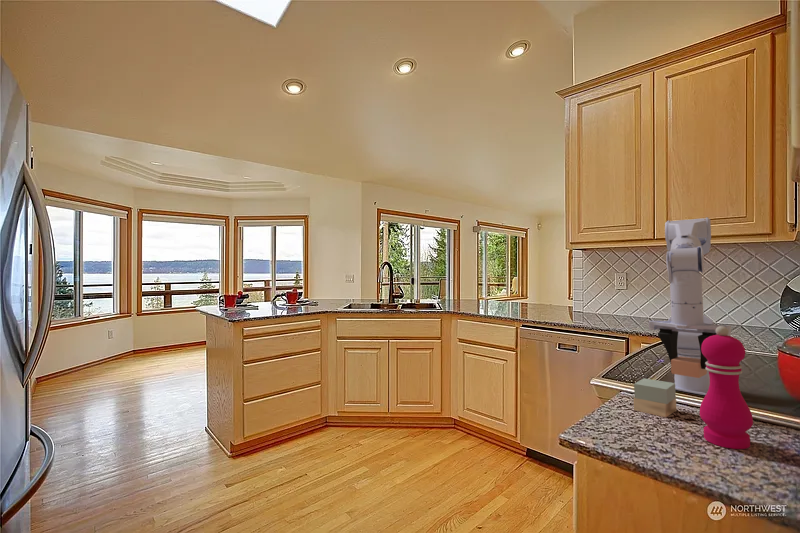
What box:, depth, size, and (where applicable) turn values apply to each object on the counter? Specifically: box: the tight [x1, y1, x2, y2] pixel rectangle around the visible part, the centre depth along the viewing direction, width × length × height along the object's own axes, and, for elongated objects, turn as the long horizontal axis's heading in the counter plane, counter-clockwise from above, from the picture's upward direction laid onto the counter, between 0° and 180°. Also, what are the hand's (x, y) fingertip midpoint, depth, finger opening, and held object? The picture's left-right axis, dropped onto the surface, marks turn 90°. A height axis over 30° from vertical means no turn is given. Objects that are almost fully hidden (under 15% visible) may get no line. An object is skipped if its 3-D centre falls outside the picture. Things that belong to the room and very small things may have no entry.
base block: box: [633, 396, 677, 418], centre depth 86 cm, size 6×6×3 cm
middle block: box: [633, 377, 677, 404], centre depth 86 cm, size 6×6×3 cm
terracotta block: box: [670, 356, 707, 378], centre depth 87 cm, size 5×5×3 cm
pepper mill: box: [699, 326, 754, 450], centre depth 70 cm, size 7×7×20 cm
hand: (688, 365), depth 87 cm, fingers closed on terracotta block, 5 cm apart
